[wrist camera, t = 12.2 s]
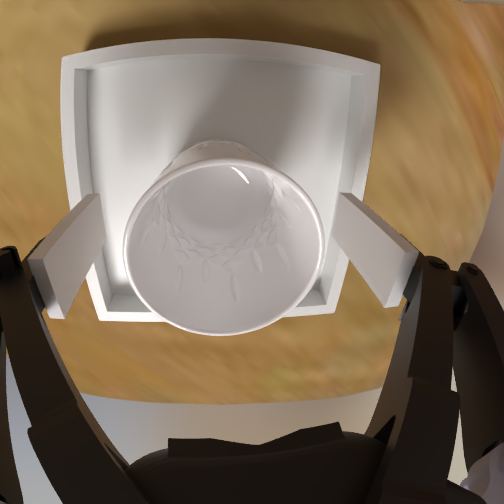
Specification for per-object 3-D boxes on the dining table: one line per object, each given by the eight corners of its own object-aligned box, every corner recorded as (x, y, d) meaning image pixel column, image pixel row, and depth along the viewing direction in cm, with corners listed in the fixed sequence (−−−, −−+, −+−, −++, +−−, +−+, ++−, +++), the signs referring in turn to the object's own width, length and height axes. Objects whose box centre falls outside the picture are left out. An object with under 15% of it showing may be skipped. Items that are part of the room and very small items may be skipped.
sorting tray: (80, 61, 14) (61, 57, 11) (359, 67, 17) (380, 64, 14) (107, 298, 24) (99, 320, 21) (323, 292, 27) (334, 312, 24)
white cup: (157, 130, 17) (110, 162, 8) (277, 131, 18) (340, 164, 10) (162, 238, 21) (139, 337, 12) (267, 236, 22) (307, 330, 13)
